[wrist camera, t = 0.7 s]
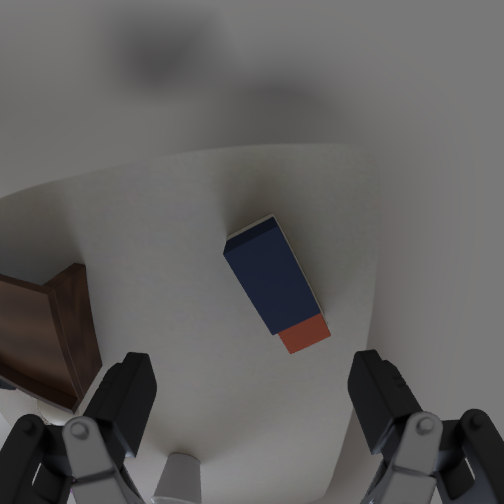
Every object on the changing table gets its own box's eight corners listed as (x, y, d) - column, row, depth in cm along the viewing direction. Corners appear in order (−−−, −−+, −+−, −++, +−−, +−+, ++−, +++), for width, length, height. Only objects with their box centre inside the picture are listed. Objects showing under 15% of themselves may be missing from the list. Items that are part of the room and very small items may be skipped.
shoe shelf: (-22, 244, 24) (-64, 265, 15) (85, 264, 25) (34, 304, 16) (-2, 326, 28) (-34, 356, 20) (102, 365, 29) (73, 415, 21)
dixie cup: (151, 455, 36) (141, 499, 27) (180, 445, 35) (170, 495, 25) (187, 473, 39) (181, 514, 29) (217, 464, 37) (214, 511, 27)
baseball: (76, 411, 33) (62, 438, 27) (44, 382, 31) (26, 408, 25) (92, 401, 32) (76, 432, 26) (56, 369, 30) (36, 397, 24)
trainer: (226, 236, 25) (221, 254, 20) (273, 212, 24) (279, 224, 19) (284, 335, 28) (290, 366, 23) (324, 316, 27) (338, 345, 23)
